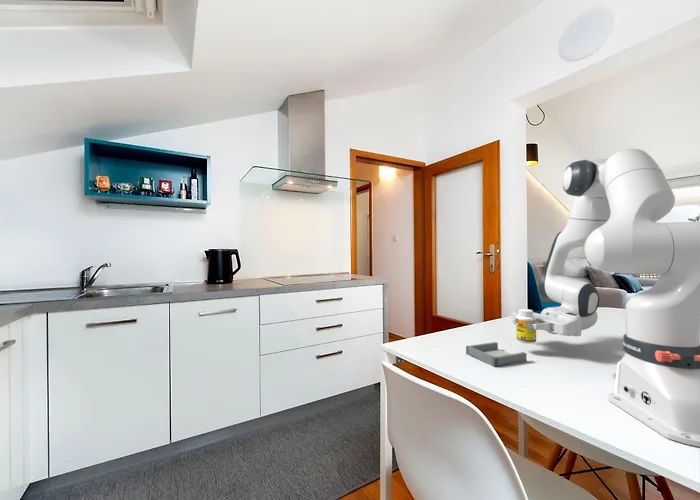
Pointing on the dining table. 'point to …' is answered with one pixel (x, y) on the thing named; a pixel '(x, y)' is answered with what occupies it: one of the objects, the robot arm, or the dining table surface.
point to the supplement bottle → (525, 326)
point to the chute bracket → (494, 354)
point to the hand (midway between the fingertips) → (524, 324)
